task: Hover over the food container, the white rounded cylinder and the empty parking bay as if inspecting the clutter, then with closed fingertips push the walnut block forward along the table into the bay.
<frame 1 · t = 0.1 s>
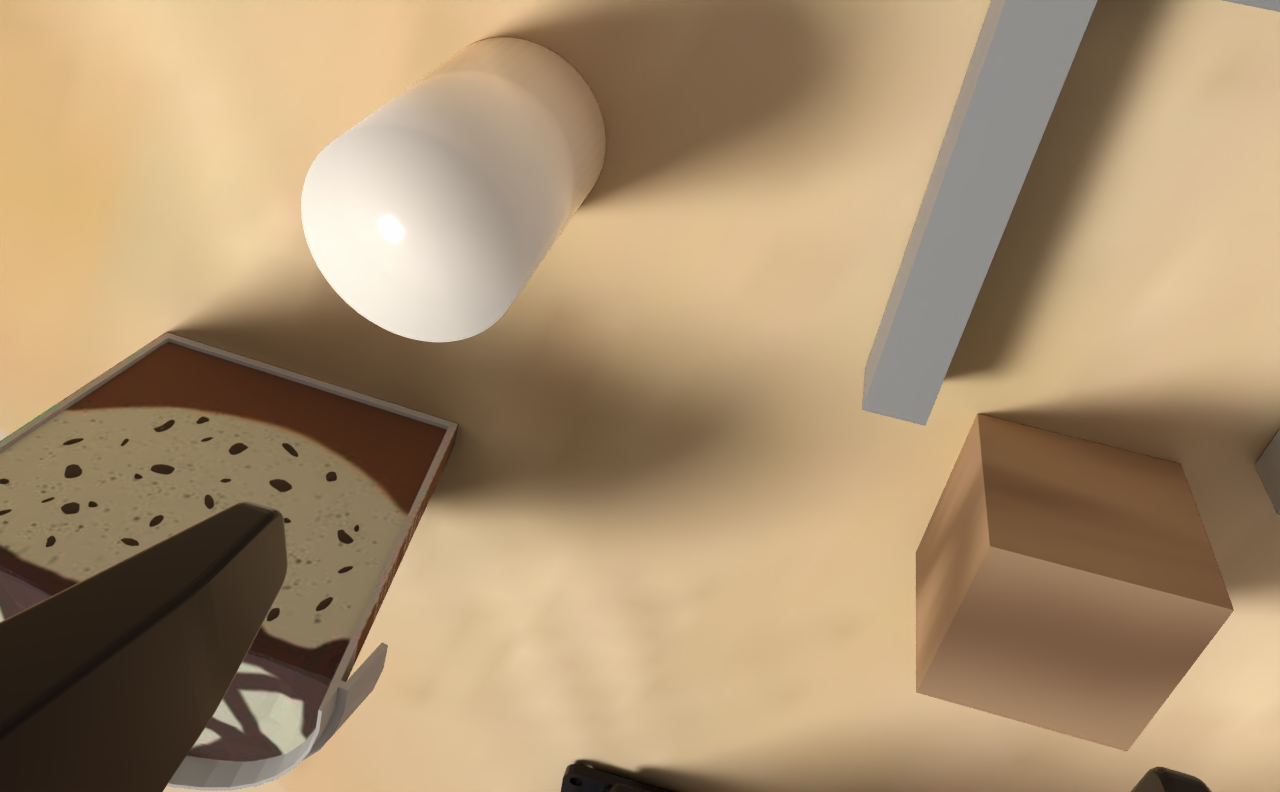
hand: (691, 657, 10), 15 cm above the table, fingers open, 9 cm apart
grey bay: (1183, 242, 21), on the table
walnut block: (1039, 509, 26), on the table
white rounded cylinder: (516, 133, 23), on the table
food container: (314, 450, 31), on the table
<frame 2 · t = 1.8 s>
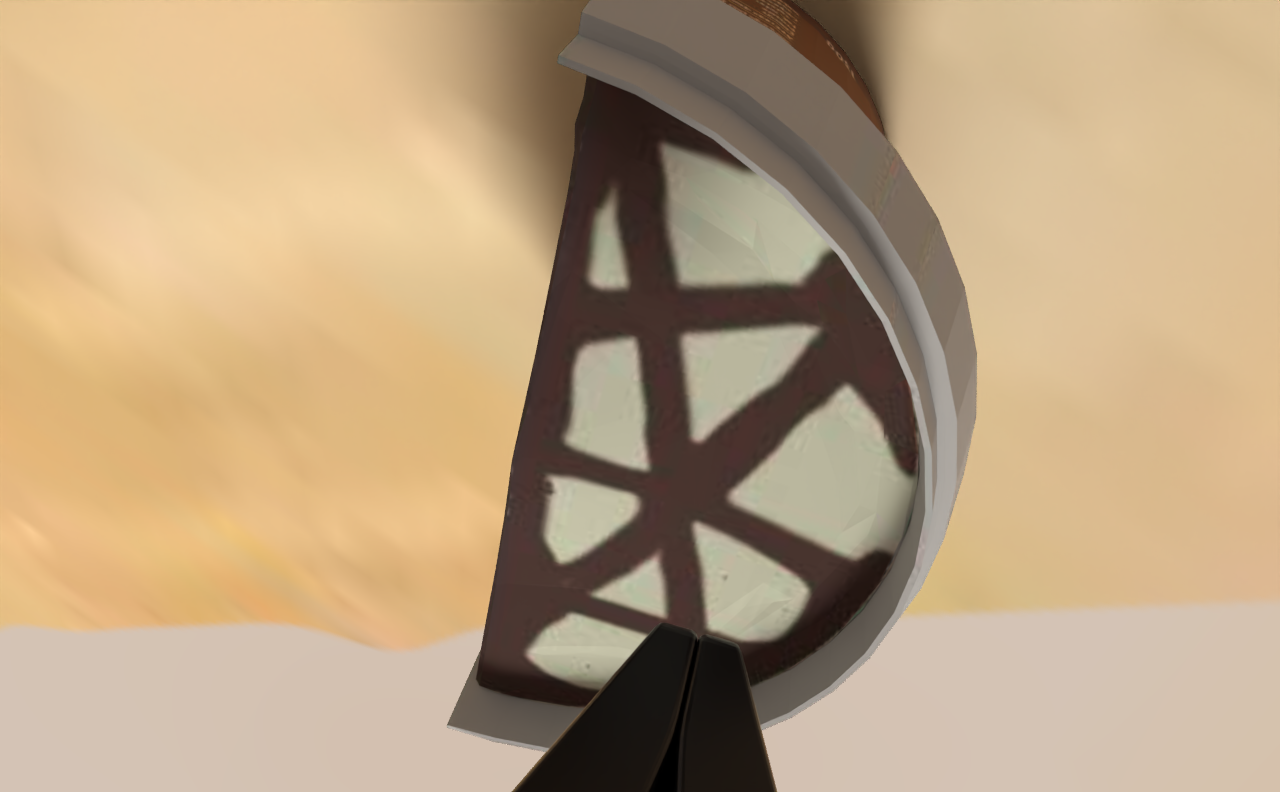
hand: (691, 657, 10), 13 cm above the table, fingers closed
food container: (791, 227, 21), on the table
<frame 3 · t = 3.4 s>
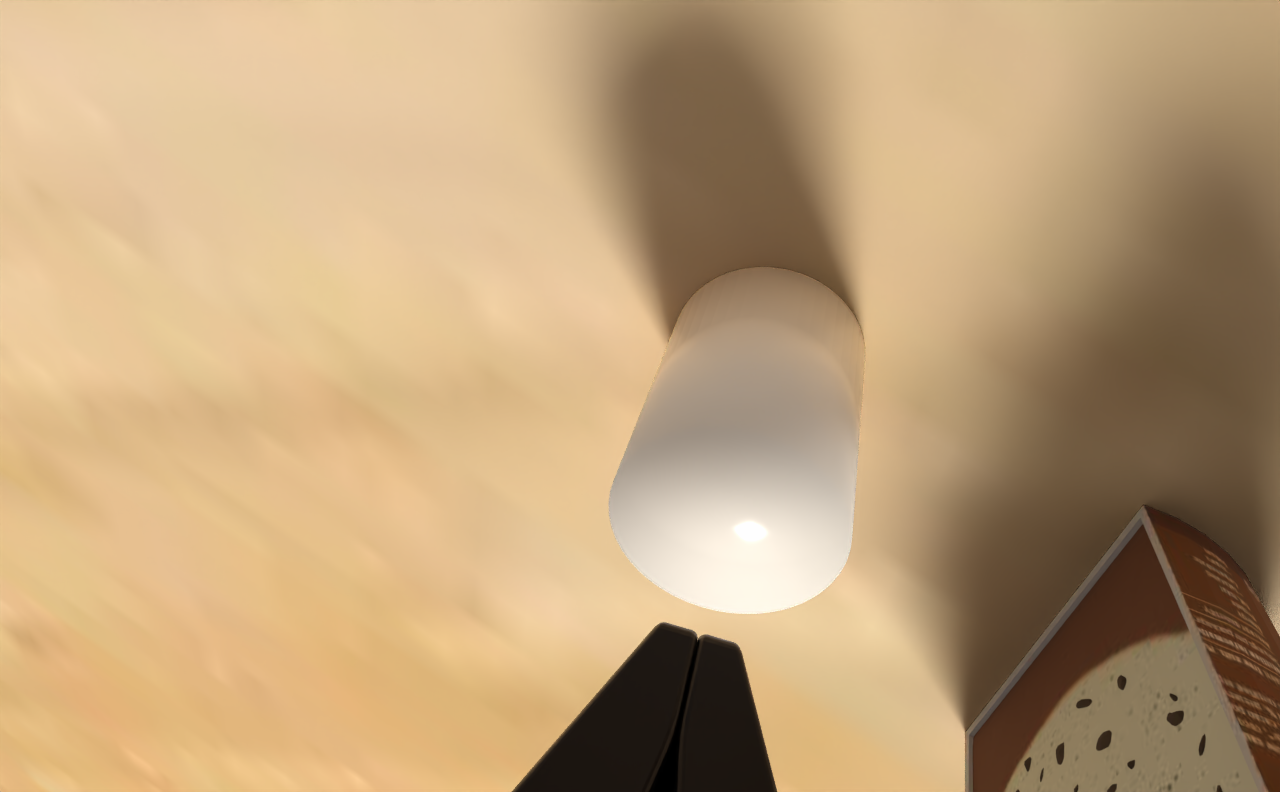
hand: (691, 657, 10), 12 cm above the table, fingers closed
white rounded cylinder: (767, 353, 22), on the table
food container: (1157, 665, 25), on the table
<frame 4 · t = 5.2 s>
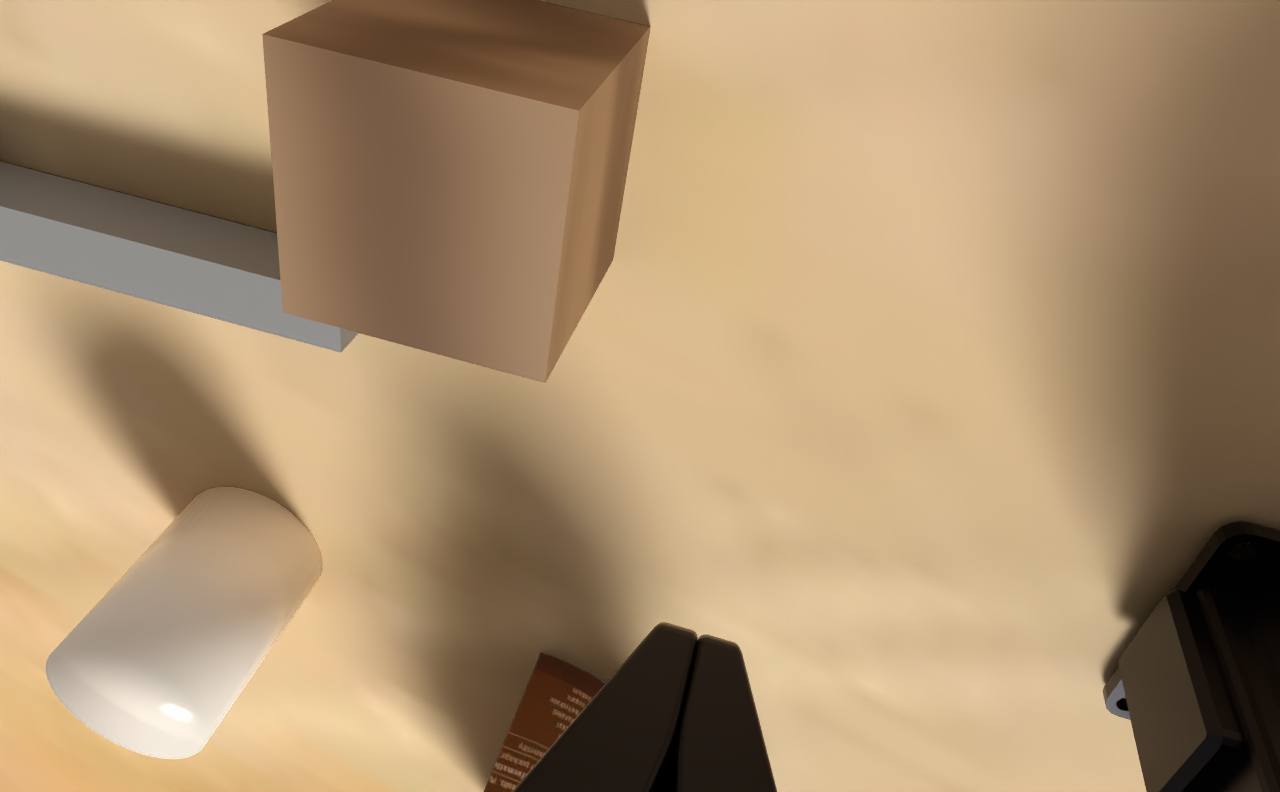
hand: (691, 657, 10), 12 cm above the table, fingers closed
grey bay: (153, 36, 20), on the table
walnut block: (514, 122, 20), on the table
white rounded cylinder: (254, 543, 29), on the table
food container: (608, 764, 32), on the table
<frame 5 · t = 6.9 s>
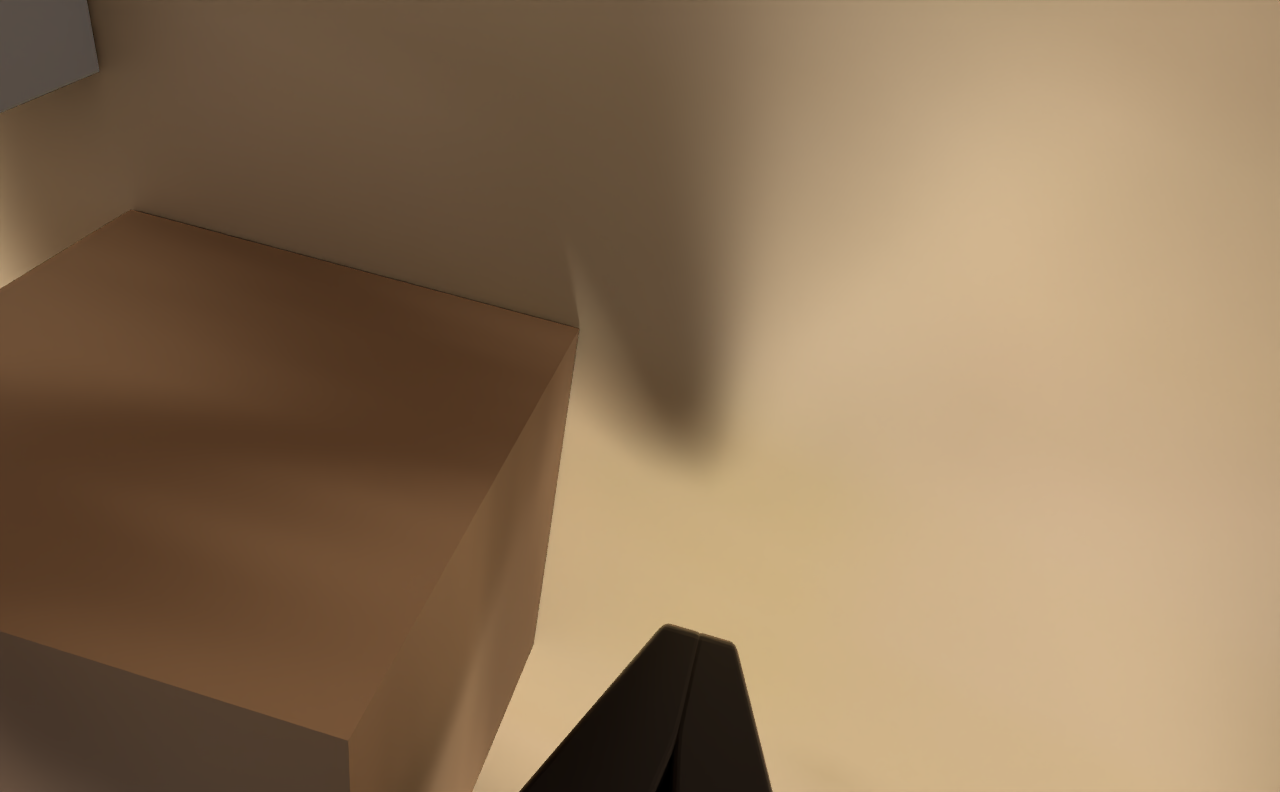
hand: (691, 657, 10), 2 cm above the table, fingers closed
walnut block: (353, 450, 12), on the table, touching gripper
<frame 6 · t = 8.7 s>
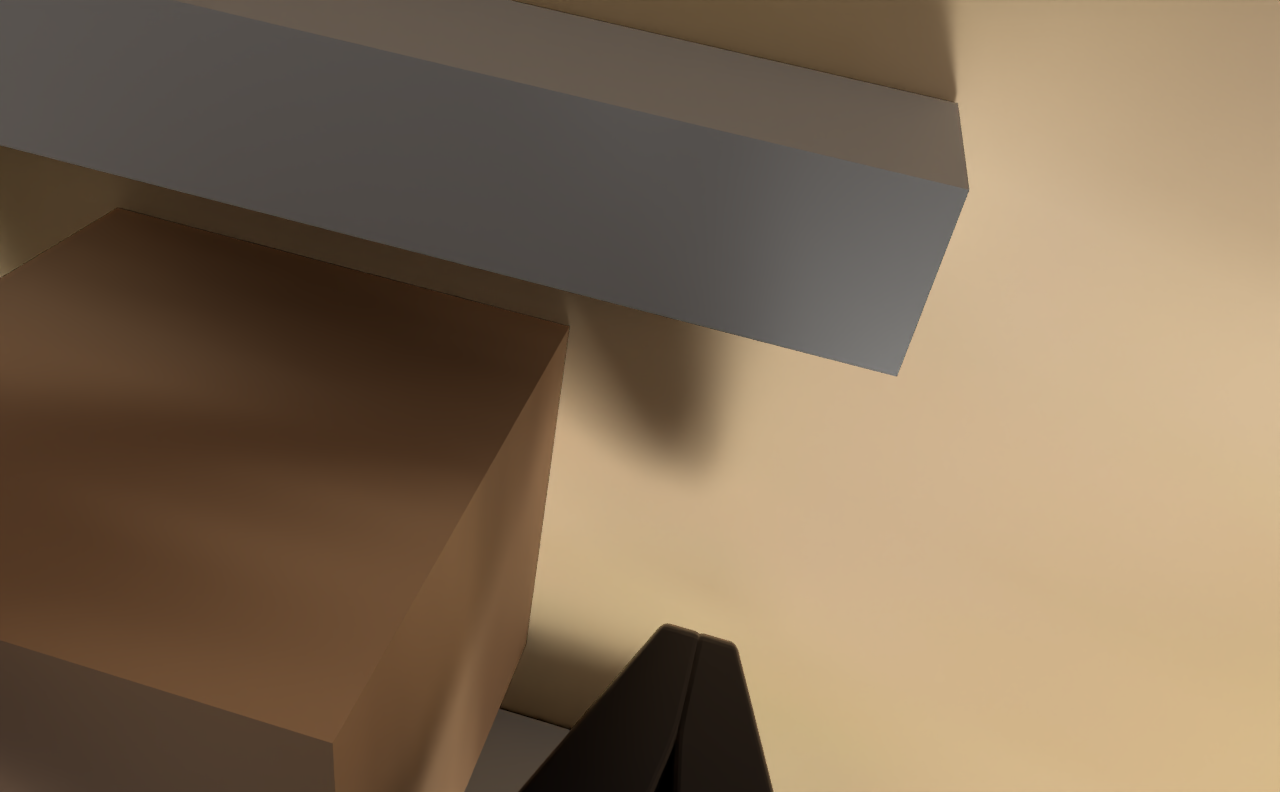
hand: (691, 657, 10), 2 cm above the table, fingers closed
grey bay: (373, 459, 11), on the table
walnut block: (344, 449, 11), resting in grey bay, touching gripper
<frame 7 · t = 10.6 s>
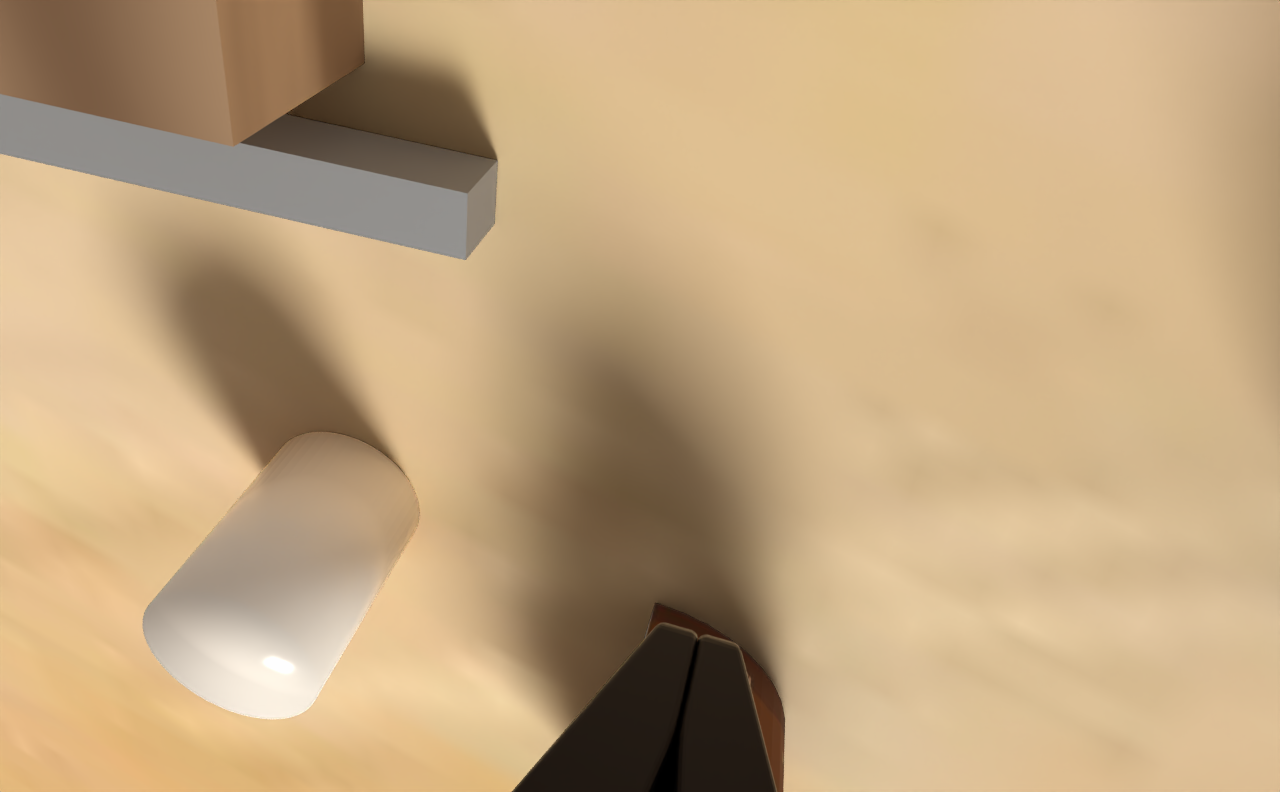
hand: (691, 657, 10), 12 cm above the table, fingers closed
white rounded cylinder: (346, 494, 27), on the table
food container: (721, 725, 30), on the table
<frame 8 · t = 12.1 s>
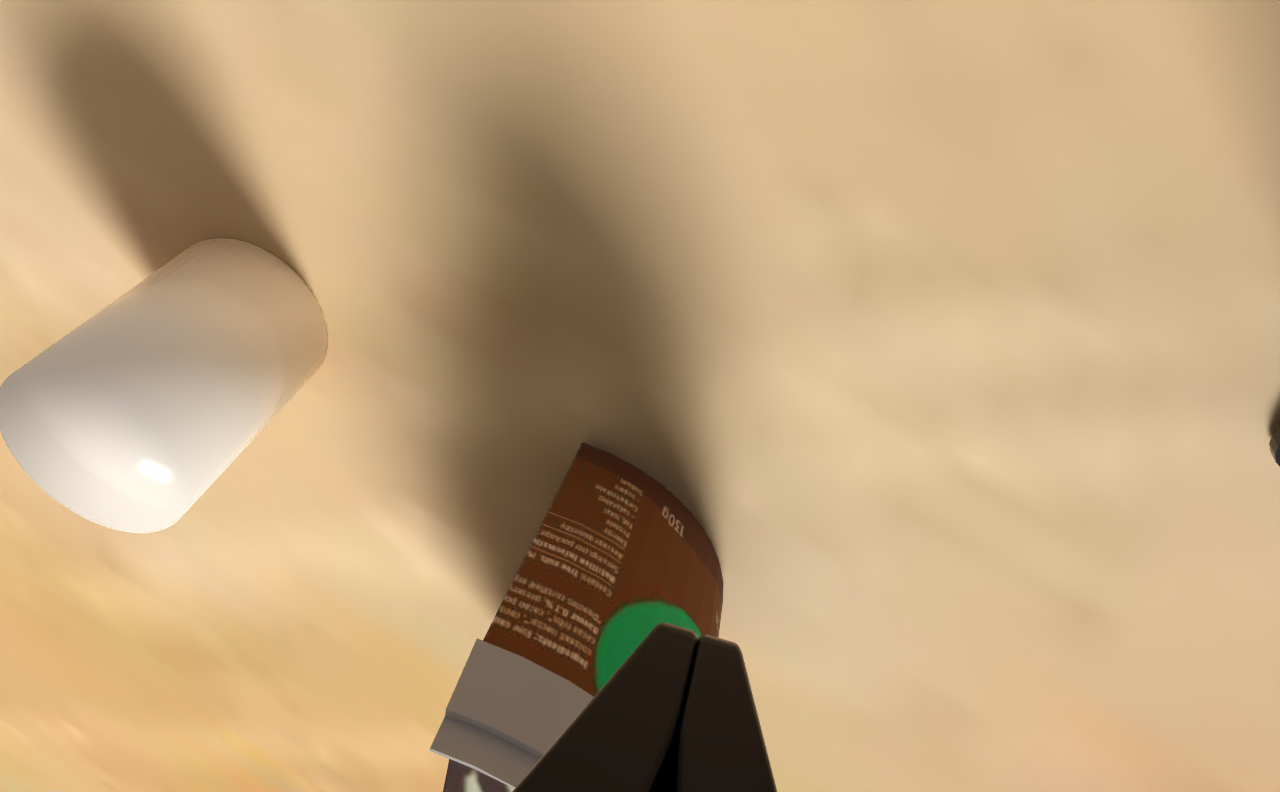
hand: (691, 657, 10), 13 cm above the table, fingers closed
white rounded cylinder: (249, 315, 25), on the table
food container: (656, 593, 28), on the table
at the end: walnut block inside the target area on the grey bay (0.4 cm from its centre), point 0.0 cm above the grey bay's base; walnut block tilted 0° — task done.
